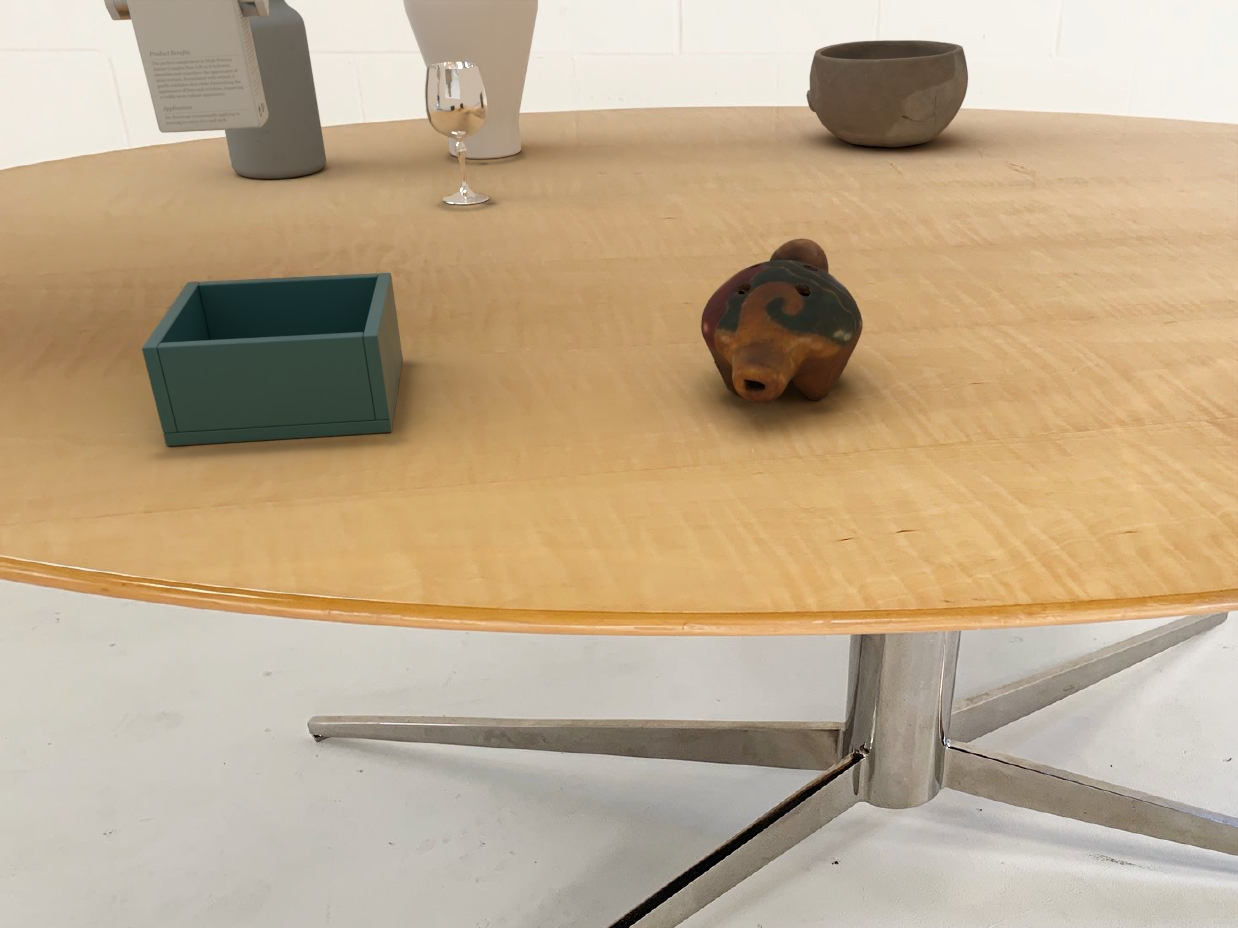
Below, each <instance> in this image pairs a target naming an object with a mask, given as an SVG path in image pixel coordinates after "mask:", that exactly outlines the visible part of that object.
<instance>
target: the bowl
mask: <svg viewBox="0 0 1238 928" xmlns="http://www.w3.org/2000/svg"><path fill="white" fill-rule="evenodd" d="M810 65H811V67H810V71H809V89H808V90H807V92H806V100H807V103H808V108H809V109H810V111H812V112H813V113H815V114H816V116H817V118H818V120H819V122H820V123H821V125H822V126H824V128H825V129H826V130H827V131H829V132H830V133H831V134H832V135H834V136H835V137H837V138H838V139H840V140H843V141H844V142H846V143H848V144H851V145H858V146H865V147H880V148H882V147H885V148H901V147H907V146H908V147H909V146H914V145H921V144H925V143H928V142H930V141H932V140H934V139H935V138H937V137H939V135H940V134H941V133H943V131H944V130H945V129H947V128H948V126H949V125H950V124H951V123H952V121H953V120H954V119H955V117H956V116H957V114H958V113H959V111H960V109H961V108H962V105H963V103H964V102H965V101H964V100H965V98H966V95H967V90H968V87H969V86H968V85H969V69H968V65H967V59H966V54H965V51H964V47H963V46H962V45H960V44H957V43H953V42H943V41H935V40H920V39H919V40H916V39H915V40H914V39H913V40H912V39H909V40H907V39H905V40H903V39H901V40H891V39H890V40H889V39H888V40H859V41H850V42H841V43H837V44H831V45H827V46H823V47H821V48H818V49H817V50H815V52H814V54H813V58H812V62H811V64H810Z"/></svg>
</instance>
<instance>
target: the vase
mask: <svg viewBox="0 0 1238 928" xmlns="http://www.w3.org/2000/svg"><path fill="white" fill-rule="evenodd" d="M402 2H403V6H404V11H405V14H406V17H407V20H408V23H409V25H410V29H411V31H412V32H413V35H414V39H415V41H416V43H417V46H418V49H419V52H420V54H421V57H422V59H423V63H424V65H425V67H426V69H427V66H428V65H430V64H435V63H444V62H470V63H475V64H477V65H478V68H479V71H480V75H481V78H482V81H483V85H484V89H485V93H486V99H487V117H486V121H485V123H484V125H483V127H482V128H481V129H480V130H479V131H478V132H476V133H475V134H473V135H471V136H469V137H467V138H464V139H463V143H464V144H465V147H466V156H465V159H469V160H491V159H499V158H507V157H512V156H514V155H518V154H519V153H520V152H521V151H522V145H521V143H522V142H521V132H520V131H521V130H520V111H521V106H522V100H523V94H524V88H525V84H526V77H527V72H528V65H529V60H530V56H531V55H530V54H531V48H532V43H533V39H534V32H535V27H536V21H537V14H538V10H539V0H402ZM447 140H448V150H449V153H450V154H451V155H452V156H453V157H456V158H458V157H457V155H456V151H455V148H456V143H457V140H456V139H454V138H450V137H447Z"/></svg>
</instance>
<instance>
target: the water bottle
mask: <svg viewBox="0 0 1238 928" xmlns="http://www.w3.org/2000/svg"><path fill="white" fill-rule="evenodd" d="M248 18H249V22H250V27H251V32H252V37H253V42H254V47H255V52H256V57H257V62H258V67H259V72H260V76H261V82H262V86H263V91H264V96H265V101H266V105H267V109H268V113H269V114H268V119H267V121H266V122H265V124H264V125H263V126H262V127H261V128H248V129H232V130H224V134H225V138H226V143H227V148H228V153H229V159H230V164H231V167H232V169H233V170H234V172H236V174H238V175H240V176H243V177H245V178H249V179H250V178H251V179H257V180H258V179H259V180H279V179H291V178H298V177H304V176H309V175H312V174H314V173H317V172H319V171H321V170H322V169H323V168H324V167H325V166H326V165H327V154H326V149H325V143H324V142H325V141H324V138H323V137H324V135H323V130H322V123H321V116H320V112H319V106H318V99H317V93H316V92H317V91H316V86H315V81H314V73H313V66H312V60H311V55H310V54H311V53H310V48H309V43H308V35H307V30H306V25H305V21H304V18H303V17H302V15H301V13H299V12H298V11H297V9H294V7H291V6H290V5H289V4H288V3H287V1H286V0H269V16H265V17H248Z"/></svg>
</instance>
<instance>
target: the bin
mask: <svg viewBox="0 0 1238 928" xmlns="http://www.w3.org/2000/svg"><path fill="white" fill-rule="evenodd" d="M392 278H393V277H392V273H391V272H379V273H378V272H374V273H371V272H370V273H352V274H350V273H349V274H332V275H330V274H329V275H312V276H311V275H310V276H292V277H291V276H289V277H268V278H247V279H228V280H227V279H226V280H208V281H207V280H206V281H205V280H204V281H187V282H186V284H185V285H184V286H183V288H182V290H181V291H180V292H179V294H178V295H177V297H176V298H175V300H174V301H173V302H172V304H171V305H170V306H169V308H168V310H167V311H166V312H165V314H164V315H163V316H162V318H161V320H160V321H159V322H158V324H157V326H156V327H155V328H154V330H153V331H152V332H151V334H150V336H149V337H148V338H147V340H146V342H145V343H144V344H143V345H142V347H141V352H142V355H143V360H144V363H145V367H146V370H147V371H146V372H147V375H148V379H149V382H150V383H149V384H150V387H151V391H152V394H153V398H154V402H155V406H156V410H157V413H158V414H157V415H158V419H159V423H160V426H161V431H162V433H163V438H164V442H165V446H166V447H176V446H177V447H179V446H190V445H191V446H192V445H193V446H195V445H209V444H211V445H212V444H225V443H226V444H227V443H240V442H241V443H242V442H258V441H259V442H260V441H272V440H273V441H275V440H290V439H304V438H306V439H307V438H321V437H332V436H333V437H337V436H339V437H340V436H352V435H367V434H383V433H386V434H387V433H392V430H393V424H394V418H395V410H396V405H397V400H398V399H397V398H398V393H399V386H400V379H401V372H402V367H403V361H404V360H403V359H404V358H403V350H402V342H401V335H400V329H399V322H398V321H399V319H398V314H397V306H396V299H395V293H394V285H393V279H392Z"/></svg>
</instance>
